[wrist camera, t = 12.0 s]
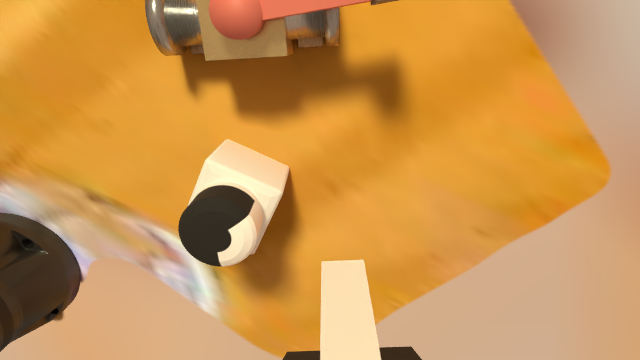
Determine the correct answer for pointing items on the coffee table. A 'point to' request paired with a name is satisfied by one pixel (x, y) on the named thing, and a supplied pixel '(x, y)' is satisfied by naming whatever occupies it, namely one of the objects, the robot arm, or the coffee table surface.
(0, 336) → the robot arm
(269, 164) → the container
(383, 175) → the coffee table surface
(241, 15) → the lever
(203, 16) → the valve pipe
